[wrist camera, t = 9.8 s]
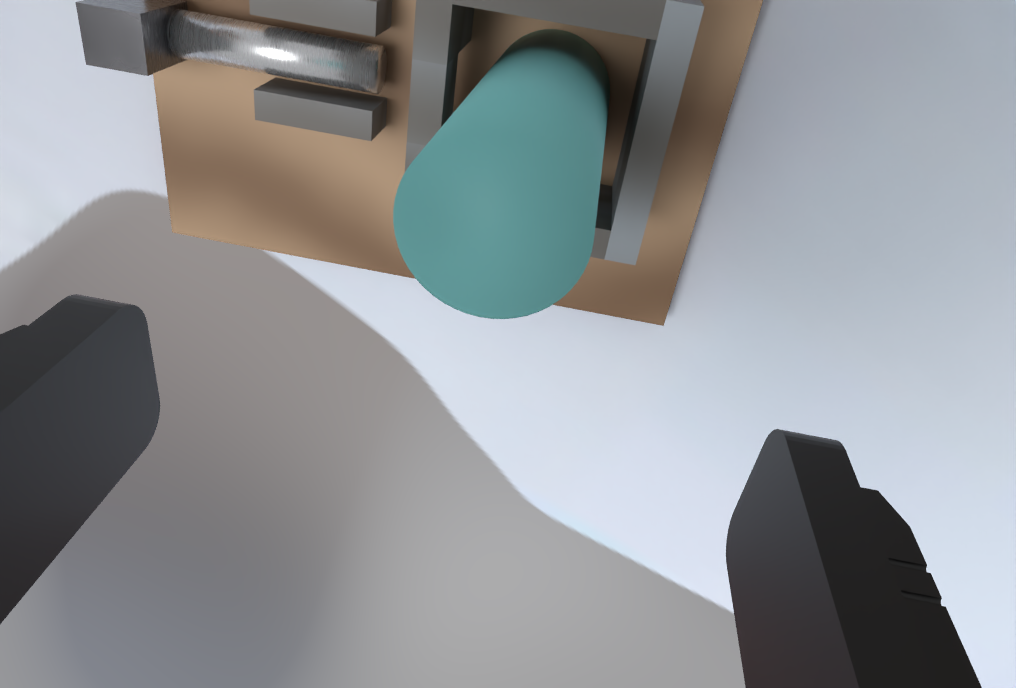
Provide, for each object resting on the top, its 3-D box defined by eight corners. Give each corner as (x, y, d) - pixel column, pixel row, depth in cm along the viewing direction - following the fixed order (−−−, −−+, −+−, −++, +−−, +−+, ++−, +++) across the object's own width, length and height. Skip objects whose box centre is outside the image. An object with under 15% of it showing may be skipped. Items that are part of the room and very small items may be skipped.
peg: (500, 18, 23) (400, 107, 13) (622, 41, 23) (615, 150, 13) (483, 139, 26) (387, 297, 15) (595, 162, 25) (571, 335, 15)
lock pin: (129, -10, 24) (75, 2, 22) (387, 36, 24) (361, 53, 21) (136, 47, 25) (86, 64, 23) (385, 92, 25) (360, 114, 22)
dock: (130, -277, 21) (10, -316, 17) (806, -164, 21) (853, -176, 17) (184, 222, 30) (114, 277, 26) (662, 313, 29) (669, 383, 25)
